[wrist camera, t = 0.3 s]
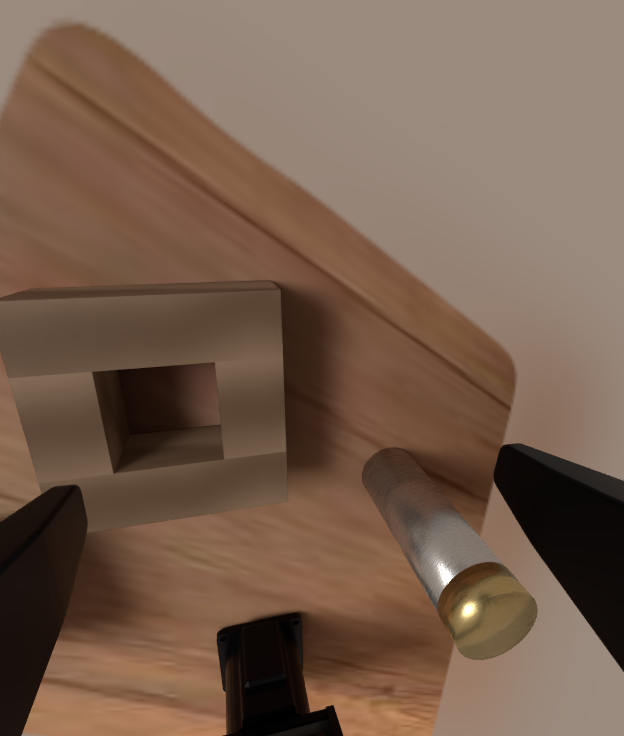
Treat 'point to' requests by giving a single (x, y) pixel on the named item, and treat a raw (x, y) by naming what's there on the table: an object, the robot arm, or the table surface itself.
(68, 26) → the table surface
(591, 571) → the robot arm
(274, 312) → the block
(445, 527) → the steel pin
